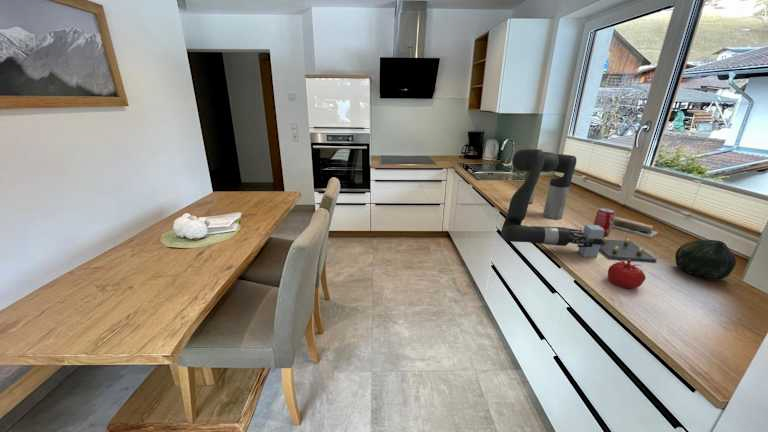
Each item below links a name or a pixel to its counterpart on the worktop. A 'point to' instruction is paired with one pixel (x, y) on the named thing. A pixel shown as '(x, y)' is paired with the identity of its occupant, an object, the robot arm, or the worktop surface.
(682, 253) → the squash
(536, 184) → the bottle
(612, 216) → the soda can
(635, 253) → the plate
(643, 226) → the packaged product
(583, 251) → the block
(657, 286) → the worktop surface
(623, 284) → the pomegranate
